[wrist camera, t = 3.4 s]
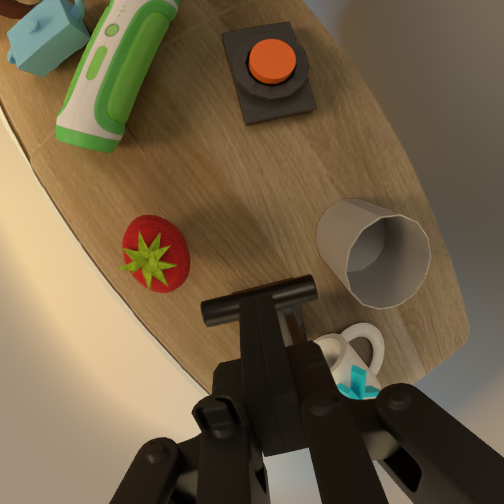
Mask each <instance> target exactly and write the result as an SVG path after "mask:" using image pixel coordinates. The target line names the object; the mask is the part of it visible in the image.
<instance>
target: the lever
mask: <svg viewBox="0 0 504 504" xmlns="http://www.w3.org/2000/svg"><path fill="white" fill-rule="evenodd" d="M268 294H272V297H273V301H274V305H275V309H276V311H279V310H283V309H287V308H290V307H294V306H298V305H302V304H305V303H309V302H313V301H316V300H317V299H318V294H317V289H316V285H315V282H314V279H313V277H312V275H311V274H308V275H304V276H301V277H297V278H293V279H289V280H285V281H282V282H278V283H274V284H270V285H266V286H262V287H258V288H254V289H250V290H246V291H242V292H238V293H234V294H230V295H226V296H222V297H218V298H214V299H210V300H205V301H202V302H201V314H202V318H203V321H204V323H205V325H206V326H207V327H213V326H217V325H221V324H226V323H230V322H234V321H239V302H240V301H244V300H248V299H252V298H256V297H260V296H264V295H268Z"/></svg>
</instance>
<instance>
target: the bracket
mask: <svg viewBox="0 0 504 504" xmlns="http://www.w3.org/2000/svg"><path fill="white" fill-rule="evenodd" d="M289 279H293V278H289ZM289 279H285V280H289ZM285 280H281V281H277V282H274V283H278V282H282V281H285ZM274 283H270V284H274ZM270 284H266V285H270ZM266 285H262V286H266ZM262 286H258V287H262ZM258 287H254V288H258ZM254 288H250V289H254ZM250 289H246V290H250ZM246 290H242V291H246ZM242 291H238V292H242ZM238 292H234V293H238ZM234 293H232V294H234ZM276 313H277V316H278V320H279V324H280V328H281V332H282V336H283V339H284V343H285V346H289V345H295V344H298V343H302V342H305V341H307V338H306V333H305V328H304V323H303V319H302V314H301V309H300V305H298V306H294V307H290V308H287V309H283V310H279V311H276ZM239 322H240V320H239Z"/></svg>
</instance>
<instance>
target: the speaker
mask: <svg viewBox="0 0 504 504" xmlns="http://www.w3.org/2000/svg"><path fill="white" fill-rule="evenodd" d="M179 2H180V0H110V5H108V6H107V7H106V9H105V11H104V13H103V15H102V16H101V18H100V20H99V22H98V24H97V26H96V28H95V30H94V32H93V34H92V36H91V38H90V40H89V42H88V44H87V47H86V49H85V51H84V53H83V55H82V58H81V60H80V62H79V65H78V67H77V69H76V72H75V74H74V77H73V79H72V82H71V84H70V87H69V89H68V92H67V95H66V98H65V100H64V106H63V108H62V109H61V111H60V112H59V113H58V117H57V122H56V139H58V140H60V141H62V142H65V143H67V144H71V145H74V146H78V147H82V148H86V149H90V150H95V151H100V152H110V153H111V152H114V150H115V148H116V147H117V145H118V144H119V142H120V140H121V138H122V137H123V135H124V133H125V123H126V122H127V120H128V118H129V115H130V112H131V110H132V107H133V105H134V102H135V100H136V97H137V95H138V92H139V90H140V87H141V85H142V82H143V80H144V78H145V75H146V73H147V71H148V69H149V66H150V64H151V62H152V60H153V58H154V56H155V53H156V51H157V49H158V47H159V45H160V43H161V41H162V39H163V37H164V35H165V33H166V31H167V29H168V27H169V23H170V22H171V21H172V20H174V18H175V17H176V14H177V11H178V7H179Z"/></svg>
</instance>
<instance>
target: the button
mask: <svg viewBox="0 0 504 504" xmlns="http://www.w3.org/2000/svg"><path fill="white" fill-rule="evenodd" d="M295 64H296V56H295V53H294V51H293V49H292V48H291V47H290V46H289V45H288V44H286V43H285V42H283V41H280V40H277V39H266V40H263V41H261V42H259V43H257V44H256V45H255V46H254V47H253V49H252V50H251V53H250V59H249V68H250V71H251V73H252V75H253V76H254V77H255V78H256V79H257V80H259V81H261V82H263V83H266V84H277V83H280V82H282V81H284V80H286V79H287V78H288V77H289V75H290V74H291V72H292V71H293V69H294V67H295Z"/></svg>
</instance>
